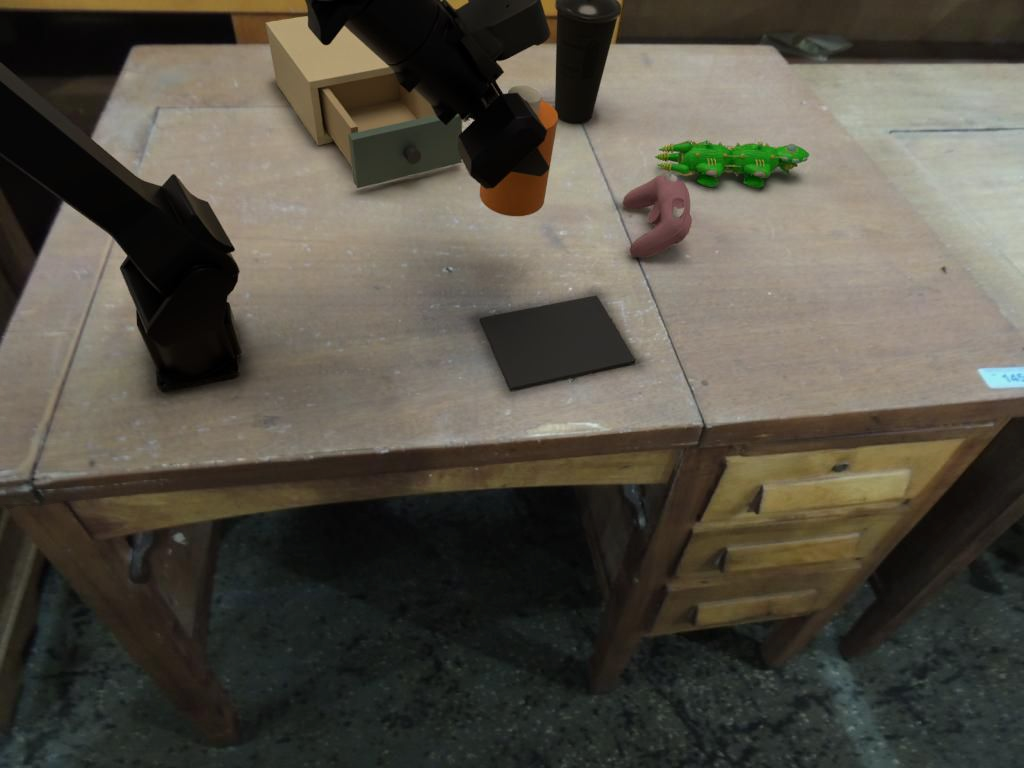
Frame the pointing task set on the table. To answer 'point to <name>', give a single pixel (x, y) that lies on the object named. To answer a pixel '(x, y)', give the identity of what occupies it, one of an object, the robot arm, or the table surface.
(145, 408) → the table surface
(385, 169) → the drawer
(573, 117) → the drinking cup
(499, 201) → the orange bottle
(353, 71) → the cabinet
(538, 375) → the mat
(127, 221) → the robot arm
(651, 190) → the video game controller
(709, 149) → the crocodile figurine
